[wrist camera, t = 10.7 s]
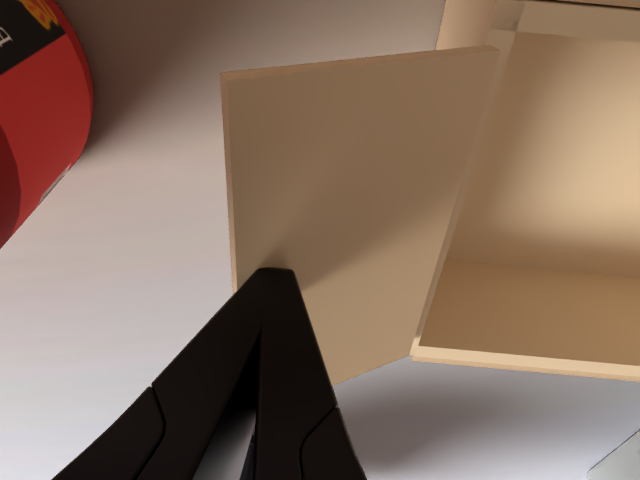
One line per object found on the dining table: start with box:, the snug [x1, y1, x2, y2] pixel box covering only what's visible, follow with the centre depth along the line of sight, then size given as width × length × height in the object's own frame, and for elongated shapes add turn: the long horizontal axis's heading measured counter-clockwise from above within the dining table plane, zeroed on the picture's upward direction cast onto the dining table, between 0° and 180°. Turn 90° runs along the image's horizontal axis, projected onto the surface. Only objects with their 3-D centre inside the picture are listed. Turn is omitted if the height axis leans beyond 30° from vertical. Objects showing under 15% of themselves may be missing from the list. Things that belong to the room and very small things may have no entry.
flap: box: [220, 45, 501, 386], centre depth 10 cm, size 9×5×1 cm, turn 176°
